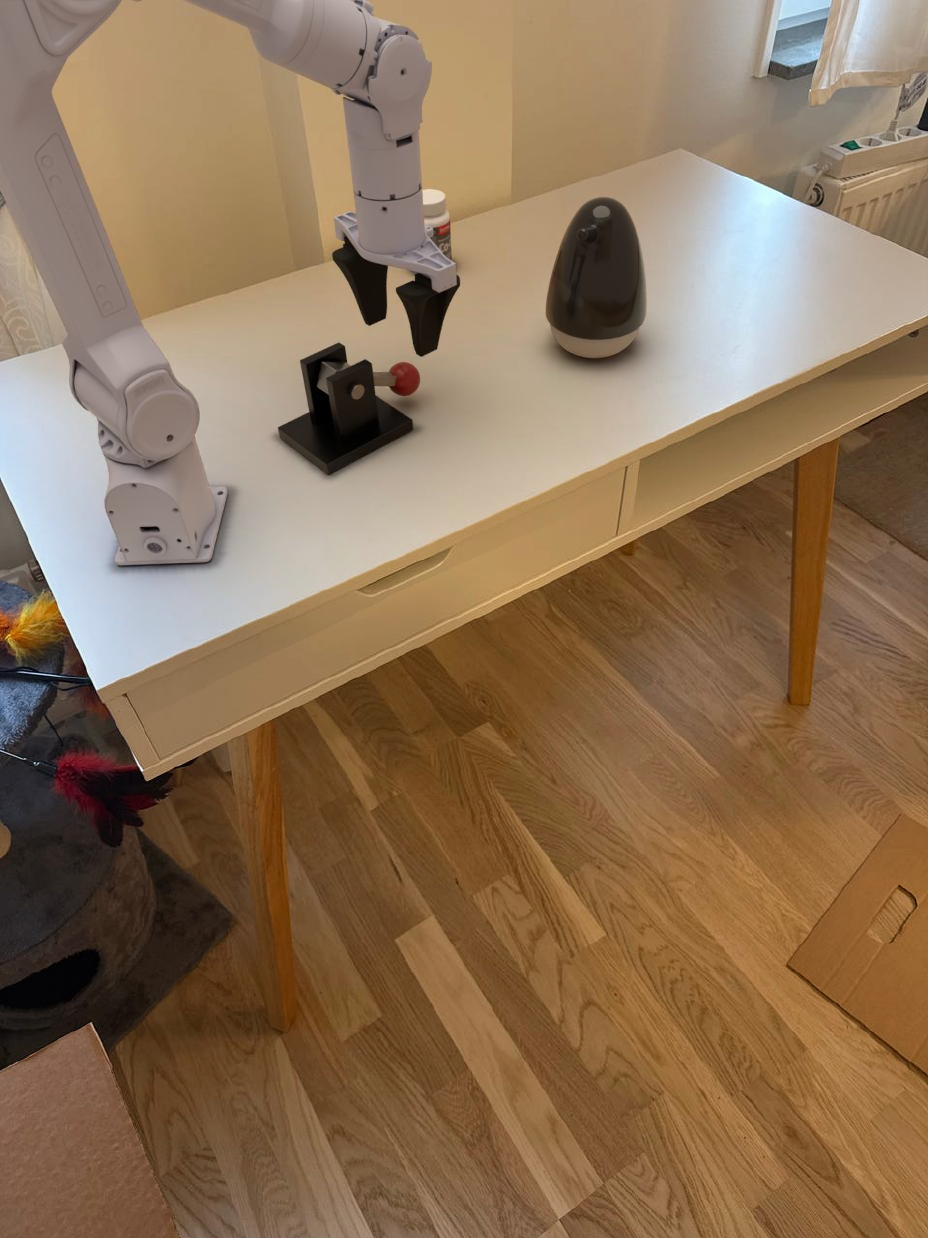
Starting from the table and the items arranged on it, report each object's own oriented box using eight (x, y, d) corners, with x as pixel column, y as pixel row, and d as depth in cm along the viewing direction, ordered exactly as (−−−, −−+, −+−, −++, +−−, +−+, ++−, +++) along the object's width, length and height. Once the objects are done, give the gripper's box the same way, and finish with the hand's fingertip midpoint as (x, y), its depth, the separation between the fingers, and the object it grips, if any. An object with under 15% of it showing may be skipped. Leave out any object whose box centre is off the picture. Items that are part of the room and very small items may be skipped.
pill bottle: (447, 278, 109) (444, 206, 103) (408, 275, 110) (402, 204, 104) (455, 259, 112) (452, 188, 106) (417, 256, 113) (412, 186, 107)
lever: (401, 387, 93) (409, 356, 91) (422, 401, 91) (430, 369, 89) (312, 388, 85) (319, 354, 83) (332, 402, 83) (340, 368, 82)
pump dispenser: (527, 358, 97) (530, 212, 86) (567, 312, 103) (574, 170, 92) (620, 381, 93) (635, 231, 82) (655, 332, 99) (674, 186, 88)
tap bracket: (362, 395, 93) (353, 324, 87) (413, 429, 89) (407, 357, 83) (279, 437, 89) (263, 365, 83) (328, 475, 84) (315, 402, 79)
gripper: (482, 197, 75) (484, 349, 85) (372, 149, 82) (386, 294, 92) (414, 225, 72) (425, 379, 82) (306, 172, 79) (328, 319, 89)
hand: (400, 335), depth 87 cm, fingers open, 7 cm apart
